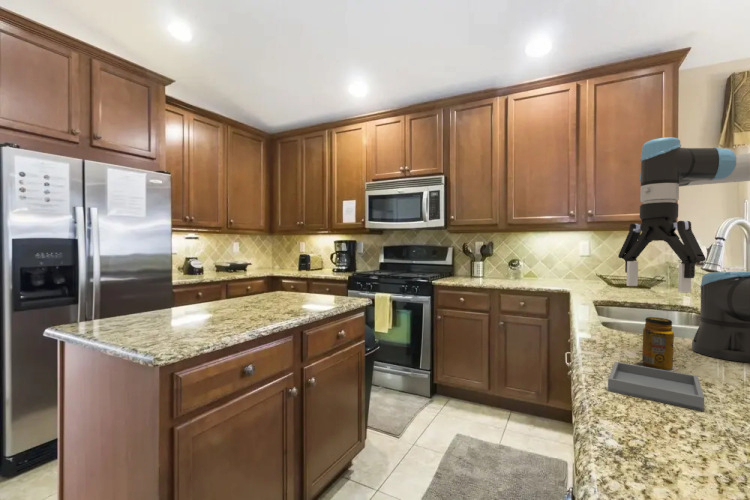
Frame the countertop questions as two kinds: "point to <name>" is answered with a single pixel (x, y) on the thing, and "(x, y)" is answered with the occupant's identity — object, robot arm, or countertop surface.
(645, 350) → the condiment
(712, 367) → the countertop surface
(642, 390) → the tray
